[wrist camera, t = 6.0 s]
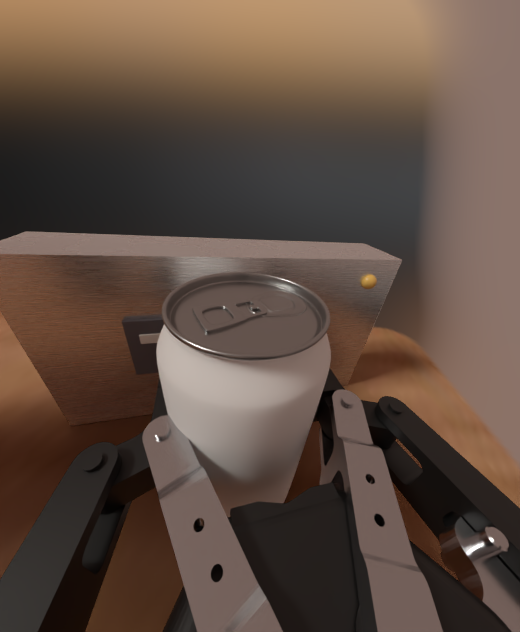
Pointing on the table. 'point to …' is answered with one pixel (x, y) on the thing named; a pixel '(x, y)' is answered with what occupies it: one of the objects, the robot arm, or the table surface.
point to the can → (244, 378)
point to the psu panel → (159, 305)
